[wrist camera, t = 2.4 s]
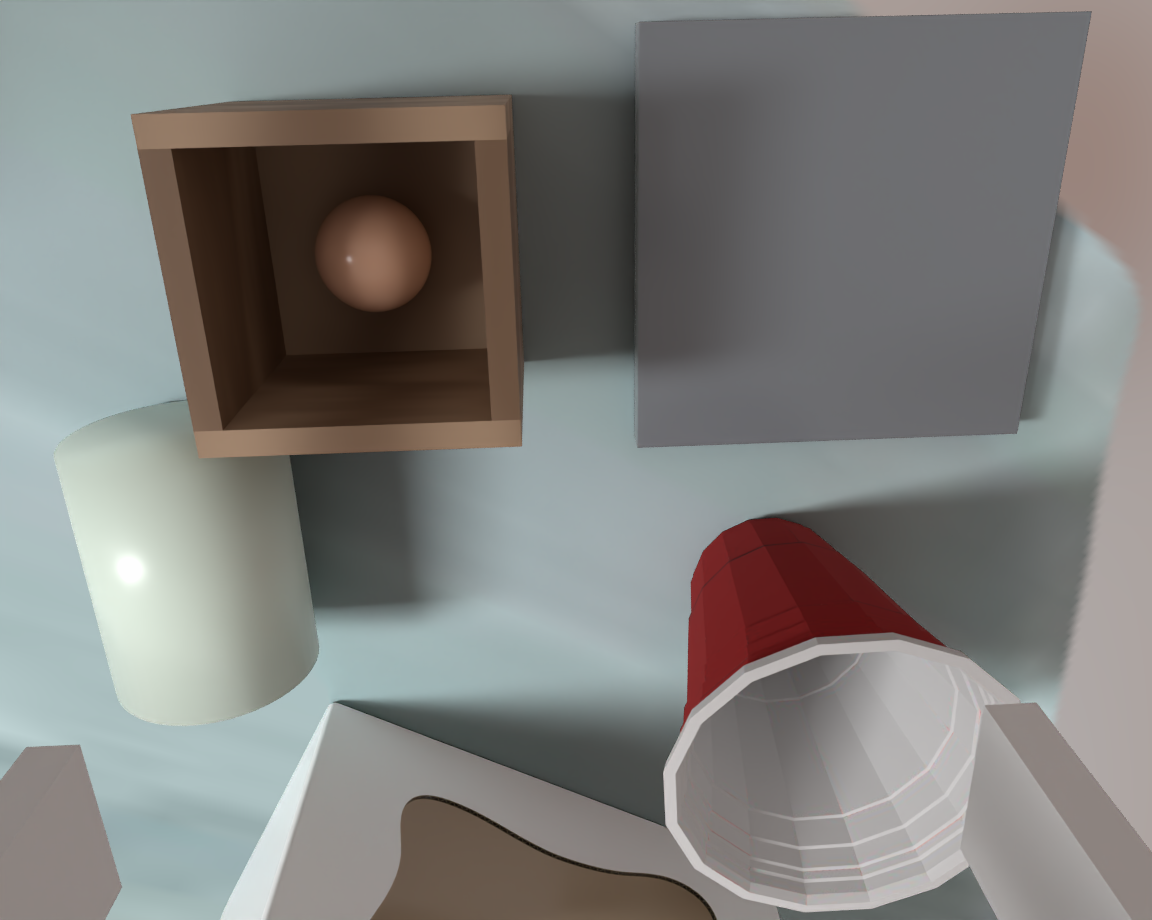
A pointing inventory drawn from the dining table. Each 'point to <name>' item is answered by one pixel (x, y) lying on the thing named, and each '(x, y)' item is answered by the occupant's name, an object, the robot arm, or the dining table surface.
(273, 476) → the pale green capsule
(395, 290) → the clay ball
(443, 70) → the dining table surface
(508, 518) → the dining table surface
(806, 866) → the plastic cup
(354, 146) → the walnut box
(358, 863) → the gable box
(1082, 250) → the dining table surface
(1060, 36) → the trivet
